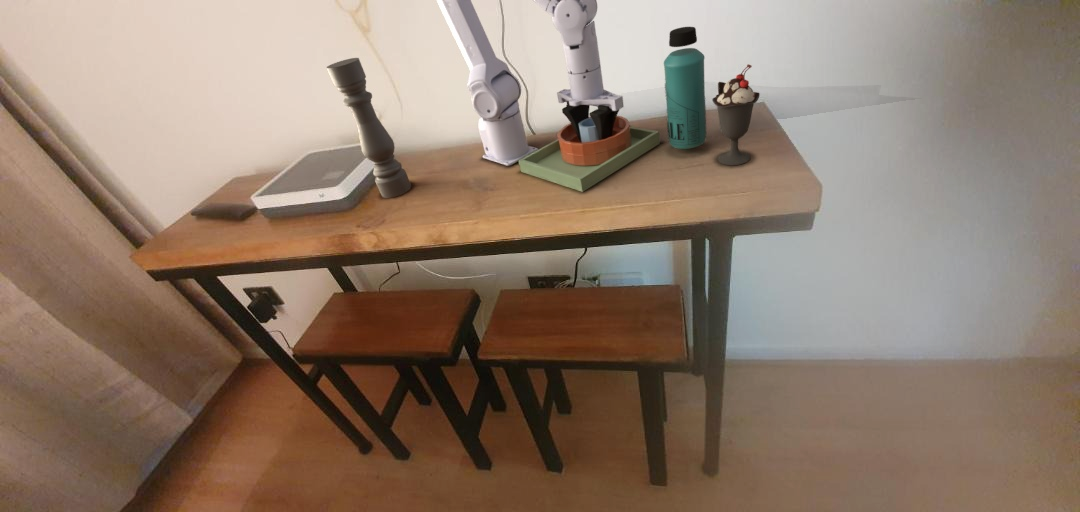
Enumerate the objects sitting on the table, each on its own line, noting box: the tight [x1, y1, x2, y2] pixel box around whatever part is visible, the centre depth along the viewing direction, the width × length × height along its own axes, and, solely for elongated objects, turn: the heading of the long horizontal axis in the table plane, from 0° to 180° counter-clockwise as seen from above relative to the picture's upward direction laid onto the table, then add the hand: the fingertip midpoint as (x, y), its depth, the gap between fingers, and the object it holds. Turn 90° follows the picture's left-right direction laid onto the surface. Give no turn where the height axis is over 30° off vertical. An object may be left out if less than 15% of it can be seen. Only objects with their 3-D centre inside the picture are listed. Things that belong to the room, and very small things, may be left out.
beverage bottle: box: [663, 26, 708, 150], centre depth 79 cm, size 6×7×20 cm
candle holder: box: [326, 57, 412, 199], centre depth 90 cm, size 6×6×25 cm
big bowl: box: [557, 115, 632, 166], centre depth 90 cm, size 13×13×5 cm
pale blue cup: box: [579, 118, 599, 143], centre depth 89 cm, size 5×5×6 cm
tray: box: [518, 126, 661, 193], centre depth 90 cm, size 17×20×2 cm
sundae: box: [711, 64, 761, 166], centre depth 74 cm, size 7×7×15 cm
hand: (595, 142), depth 90 cm, fingers closed on pale blue cup, 5 cm apart
